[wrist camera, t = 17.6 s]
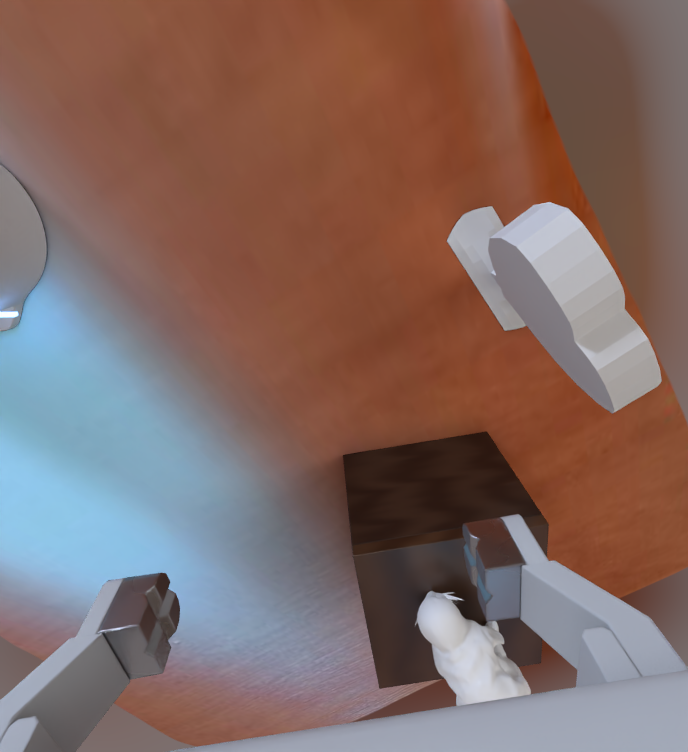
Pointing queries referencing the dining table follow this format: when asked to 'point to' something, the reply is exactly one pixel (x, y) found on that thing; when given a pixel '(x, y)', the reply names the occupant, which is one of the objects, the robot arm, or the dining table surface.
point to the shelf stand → (429, 543)
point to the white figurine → (468, 653)
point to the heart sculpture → (559, 297)
